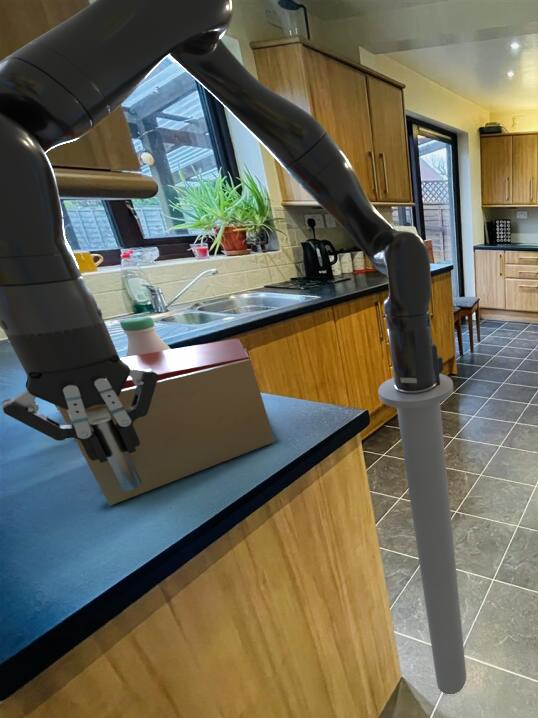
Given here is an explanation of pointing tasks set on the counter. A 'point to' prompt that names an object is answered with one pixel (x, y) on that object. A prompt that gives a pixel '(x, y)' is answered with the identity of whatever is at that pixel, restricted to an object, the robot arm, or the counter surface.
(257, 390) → the cabinet door
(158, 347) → the milk bottle
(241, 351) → the red cabinet box
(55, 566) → the counter surface
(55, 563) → the counter surface
